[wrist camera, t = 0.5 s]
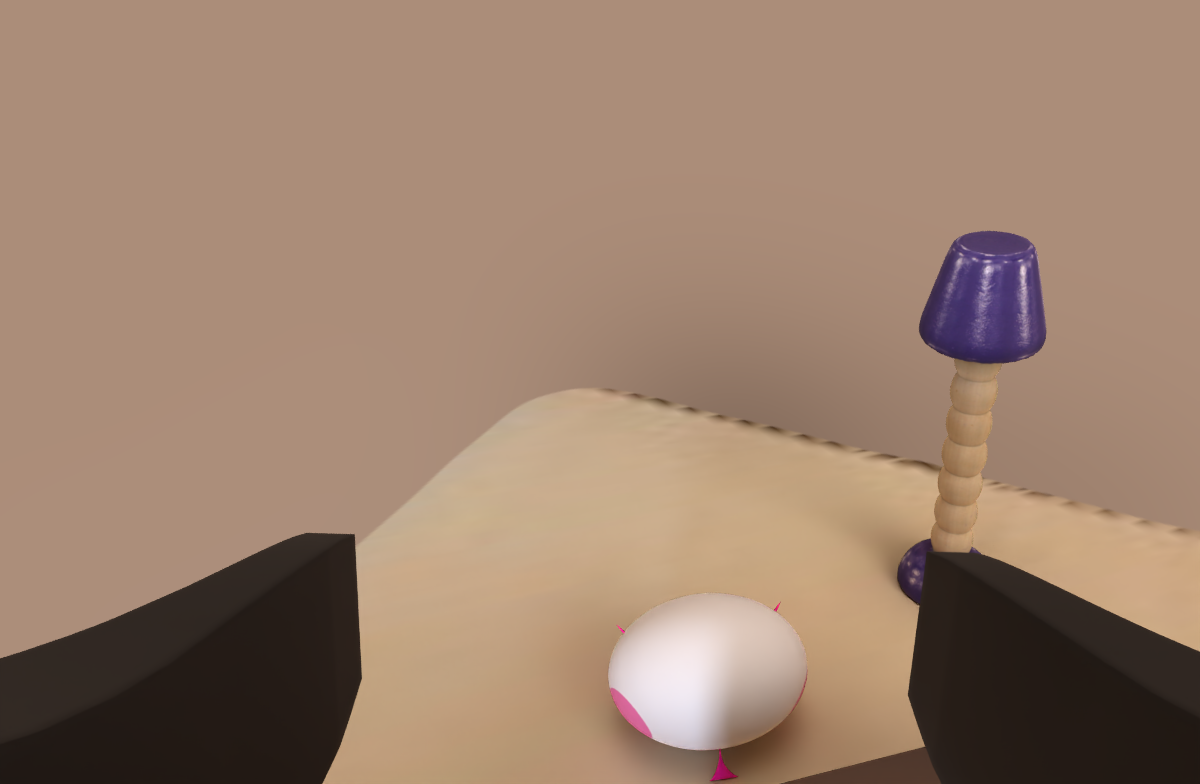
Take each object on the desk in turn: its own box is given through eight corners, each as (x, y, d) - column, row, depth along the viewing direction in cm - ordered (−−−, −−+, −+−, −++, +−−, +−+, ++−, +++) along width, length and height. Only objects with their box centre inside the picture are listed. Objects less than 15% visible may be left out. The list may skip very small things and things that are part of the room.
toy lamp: (940, 633, 39) (1009, 273, 31) (862, 573, 43) (905, 236, 34) (1014, 592, 41) (1096, 244, 33) (933, 538, 45) (989, 213, 37)
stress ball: (771, 725, 39) (752, 571, 40) (849, 784, 31) (824, 590, 32) (599, 752, 38) (583, 592, 38) (635, 820, 30) (614, 617, 31)
